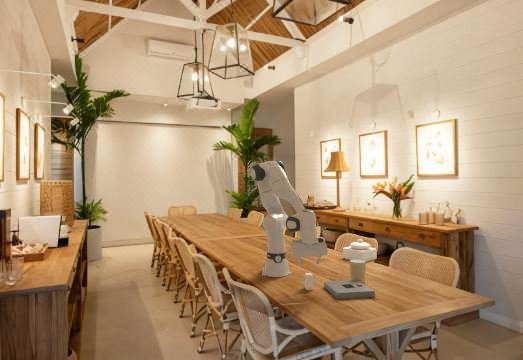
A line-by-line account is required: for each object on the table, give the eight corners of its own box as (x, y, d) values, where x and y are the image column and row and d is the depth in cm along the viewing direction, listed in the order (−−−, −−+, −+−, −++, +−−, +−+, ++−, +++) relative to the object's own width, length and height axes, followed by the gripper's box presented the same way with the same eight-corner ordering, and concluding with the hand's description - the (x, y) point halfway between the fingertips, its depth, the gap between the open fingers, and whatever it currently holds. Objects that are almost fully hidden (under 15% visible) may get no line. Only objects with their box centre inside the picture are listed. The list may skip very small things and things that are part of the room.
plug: (303, 286, 195) (303, 271, 195) (309, 285, 196) (309, 271, 196) (307, 290, 189) (306, 275, 189) (313, 289, 189) (313, 274, 189)
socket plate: (324, 287, 193) (324, 280, 194) (358, 285, 197) (358, 278, 197) (337, 299, 174) (337, 291, 174) (374, 296, 177) (374, 289, 177)
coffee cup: (367, 280, 206) (367, 260, 206) (363, 284, 198) (363, 263, 198) (352, 278, 210) (352, 258, 210) (347, 282, 202) (347, 261, 202)
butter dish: (363, 264, 248) (362, 241, 248) (342, 259, 261) (342, 238, 261) (376, 260, 259) (376, 239, 259) (356, 256, 273) (356, 236, 273)
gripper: (291, 241, 186) (292, 267, 186) (328, 239, 189) (329, 264, 189) (288, 239, 193) (289, 264, 192) (324, 237, 196) (325, 262, 195)
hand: (309, 264), depth 191 cm, fingers open, 8 cm apart
